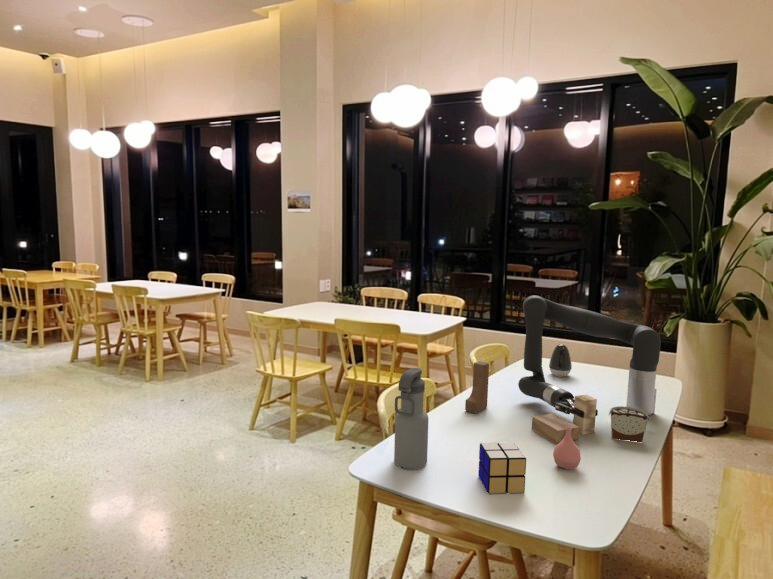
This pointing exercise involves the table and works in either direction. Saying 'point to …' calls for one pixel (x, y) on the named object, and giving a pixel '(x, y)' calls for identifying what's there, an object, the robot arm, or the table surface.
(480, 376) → the wooden block
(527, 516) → the table surface
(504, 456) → the puzzle cube
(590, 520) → the table surface
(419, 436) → the water bottle
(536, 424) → the base block
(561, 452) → the pink vase
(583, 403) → the oak post
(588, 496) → the table surface
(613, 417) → the food container
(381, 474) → the table surface
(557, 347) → the grey egg shape
